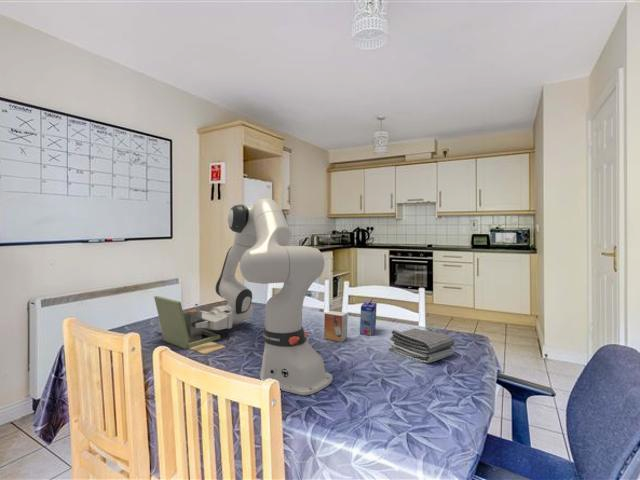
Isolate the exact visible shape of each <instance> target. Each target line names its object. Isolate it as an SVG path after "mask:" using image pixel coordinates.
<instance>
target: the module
mask: <svg viewBox="0 0 640 480" xmlns="http://www.w3.org/2000/svg"><path fill="white" fill-rule="evenodd" d="M200 311H201V310H197V309H189V310H187V311H183V315H184V320H185V324H186V329H187V334H188V343H192V342H195V341H198V340H202V339H203V334H202V329H203V328H195V327H194V324H195V323H201V322H202V312H200Z"/></svg>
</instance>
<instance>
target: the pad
mask: <svg viewBox="0 0 640 480" xmlns="http://www.w3.org/2000/svg"><path fill="white" fill-rule="evenodd" d="M225 348H226V346H225V345H222V344H219V343H217V342H214V341H211V342H208V343H205V344H201V345H198V346H195V347H192V348H189V350H191V351H193V352H197V353H199V354H201V355H204V356H205V355H208V354H211V353H214V352H216V351H221V350H224V349H225Z"/></svg>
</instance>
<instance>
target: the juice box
mask: <svg viewBox="0 0 640 480" xmlns="http://www.w3.org/2000/svg"><path fill="white" fill-rule="evenodd" d="M373 300H374V298H372V299H371V300H370V301H364V303H362V304H361V305H360V316H359V317H360V320H359V322H360V323H359V324H360V325H359V334H360V335H364V336H365V335H366V336H371V337H372V336H373V334H374V333H375V331H376V325H377V324H376V323H377V306H378V304H377V302H375V301H374V302H373Z"/></svg>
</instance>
